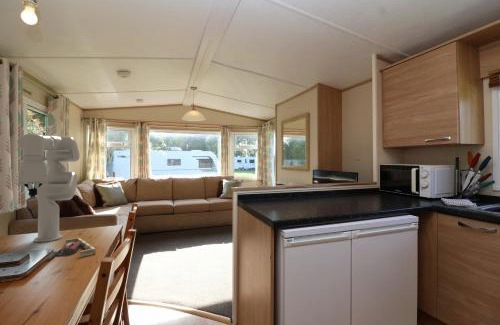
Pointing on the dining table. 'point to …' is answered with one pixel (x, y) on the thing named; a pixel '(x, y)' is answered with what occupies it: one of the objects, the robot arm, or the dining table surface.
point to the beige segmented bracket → (88, 247)
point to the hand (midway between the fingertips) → (32, 196)
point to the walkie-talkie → (67, 249)
